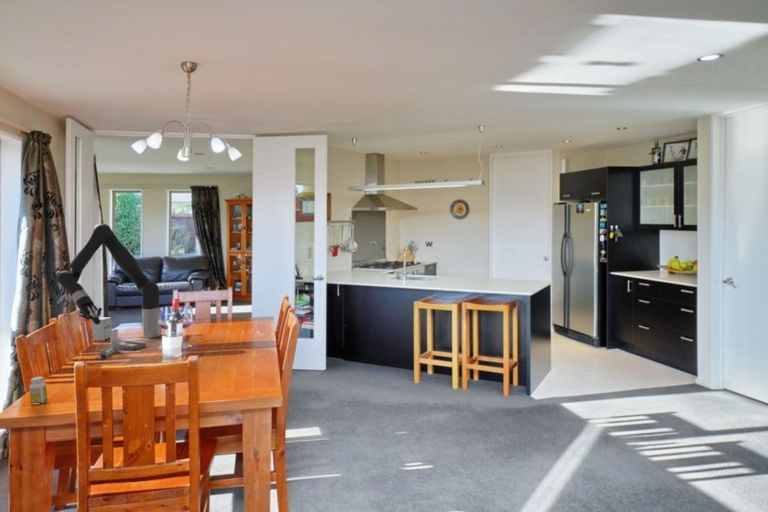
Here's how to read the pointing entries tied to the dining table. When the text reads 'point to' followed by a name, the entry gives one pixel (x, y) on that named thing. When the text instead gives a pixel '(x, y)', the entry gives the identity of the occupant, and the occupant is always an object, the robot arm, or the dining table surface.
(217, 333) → the dining table surface
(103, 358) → the hinge foot
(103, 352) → the cable arm
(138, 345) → the server lid
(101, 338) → the supplement box
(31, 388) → the supplement bottle
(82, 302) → the robot arm
